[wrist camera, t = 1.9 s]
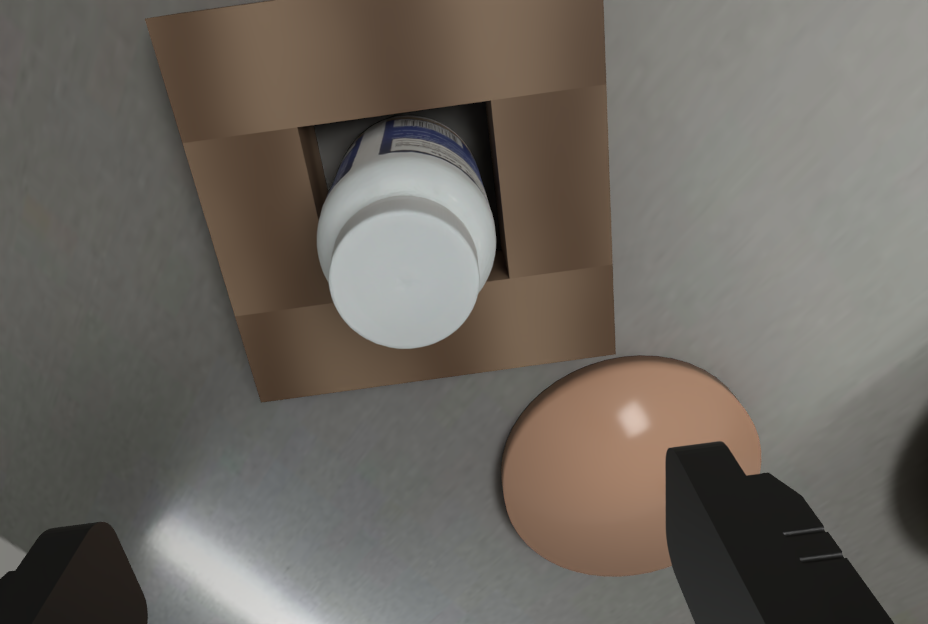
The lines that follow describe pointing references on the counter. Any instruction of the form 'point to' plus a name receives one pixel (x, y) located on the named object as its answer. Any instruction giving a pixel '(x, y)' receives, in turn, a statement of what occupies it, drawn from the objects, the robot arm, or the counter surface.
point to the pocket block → (382, 93)
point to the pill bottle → (406, 233)
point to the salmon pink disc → (614, 459)
